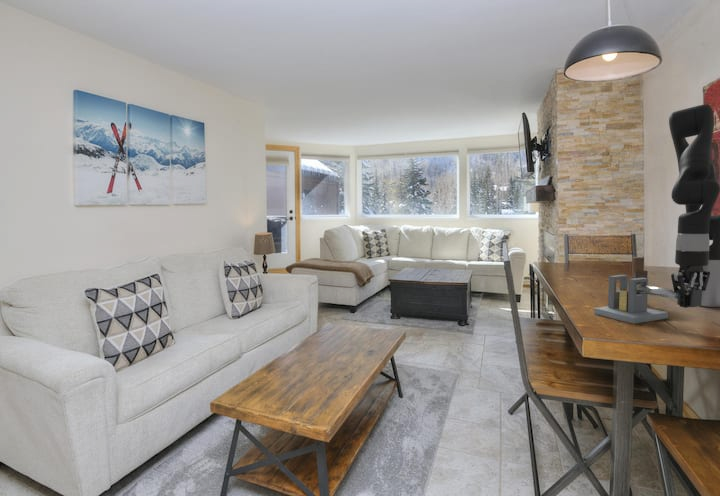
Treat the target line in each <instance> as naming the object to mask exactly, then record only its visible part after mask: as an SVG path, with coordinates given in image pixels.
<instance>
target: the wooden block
mask: <svg viewBox="0 0 720 496" xmlns="http://www.w3.org/2000/svg"><path fill="white" fill-rule="evenodd" d="M631 262H632V266H631V279H634V278H648V272H649V271H648V270H645V266H644V265H645V257H643V256H633V257H632V261H631ZM638 284H640V282H638V283H637V285H638Z"/></svg>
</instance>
